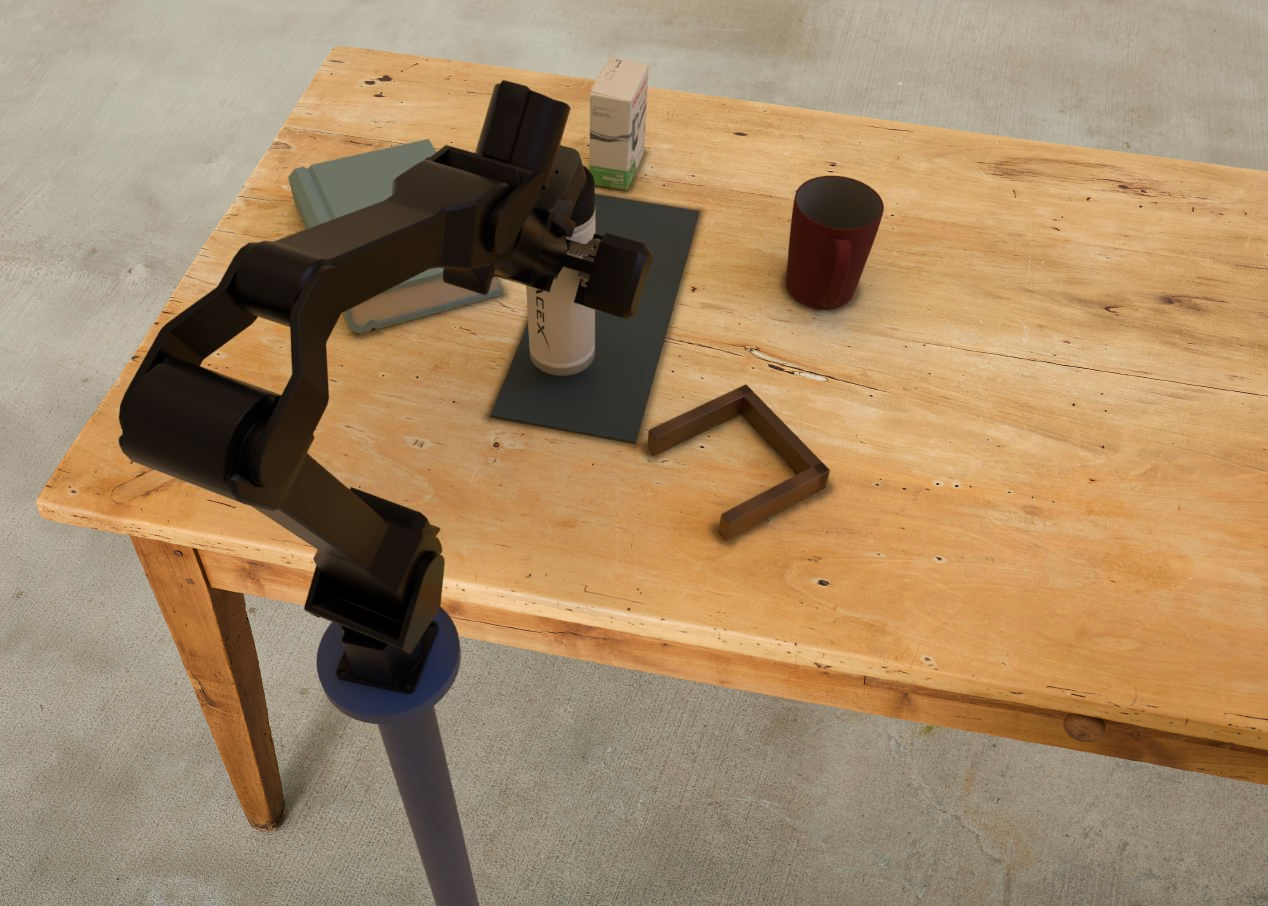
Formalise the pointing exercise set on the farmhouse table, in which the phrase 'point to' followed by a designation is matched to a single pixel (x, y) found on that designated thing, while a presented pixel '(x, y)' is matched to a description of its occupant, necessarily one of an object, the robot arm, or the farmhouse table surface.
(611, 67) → the ink box
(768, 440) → the u-shaped bracket
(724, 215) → the farmhouse table surface
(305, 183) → the book
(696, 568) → the farmhouse table surface
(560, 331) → the travel mug
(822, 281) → the mug
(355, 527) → the robot arm
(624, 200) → the desk mat
